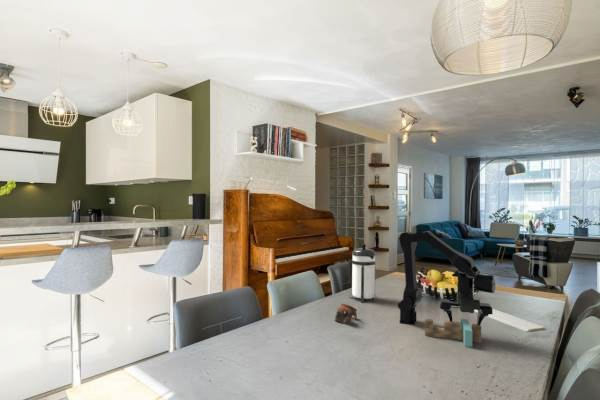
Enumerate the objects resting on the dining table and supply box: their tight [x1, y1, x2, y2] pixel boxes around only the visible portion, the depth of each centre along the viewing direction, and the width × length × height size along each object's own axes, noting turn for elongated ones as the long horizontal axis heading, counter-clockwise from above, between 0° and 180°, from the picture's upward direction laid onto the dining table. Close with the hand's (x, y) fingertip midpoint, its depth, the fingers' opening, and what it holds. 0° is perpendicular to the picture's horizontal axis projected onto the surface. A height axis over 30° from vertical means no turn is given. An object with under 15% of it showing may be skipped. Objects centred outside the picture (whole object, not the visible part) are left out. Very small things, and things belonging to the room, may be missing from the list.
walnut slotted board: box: [424, 318, 482, 344], centre depth 136 cm, size 20×2×6 cm, turn 71°
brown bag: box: [334, 303, 358, 324], centre depth 154 cm, size 12×10×8 cm
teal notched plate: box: [460, 317, 473, 348], centre depth 134 cm, size 14×2×6 cm, turn 161°
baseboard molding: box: [474, 308, 546, 332], centre depth 160 cm, size 31×3×12 cm
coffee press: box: [347, 243, 378, 303], centre depth 190 cm, size 17×16×30 cm
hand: (464, 327), depth 139 cm, fingers open, 9 cm apart
